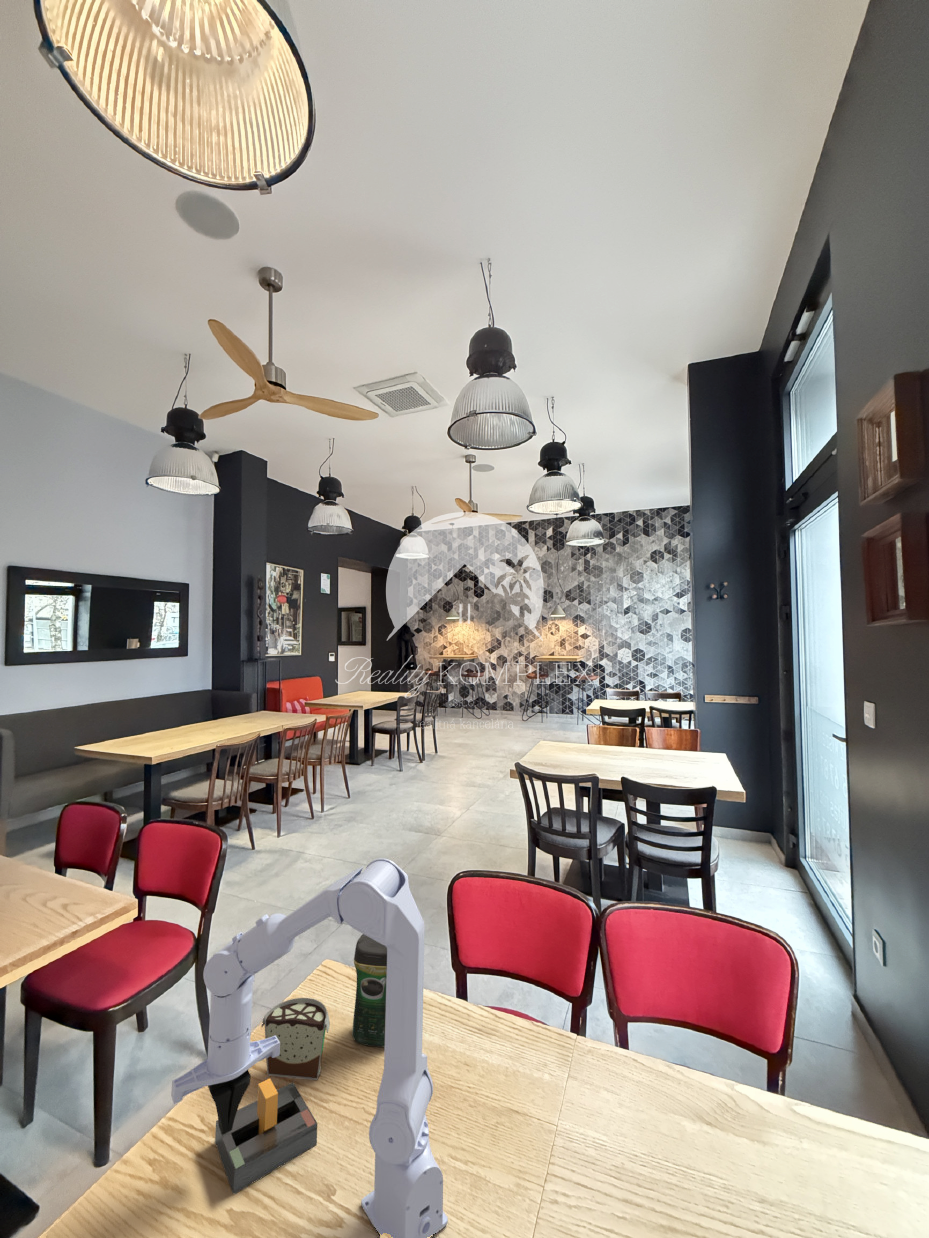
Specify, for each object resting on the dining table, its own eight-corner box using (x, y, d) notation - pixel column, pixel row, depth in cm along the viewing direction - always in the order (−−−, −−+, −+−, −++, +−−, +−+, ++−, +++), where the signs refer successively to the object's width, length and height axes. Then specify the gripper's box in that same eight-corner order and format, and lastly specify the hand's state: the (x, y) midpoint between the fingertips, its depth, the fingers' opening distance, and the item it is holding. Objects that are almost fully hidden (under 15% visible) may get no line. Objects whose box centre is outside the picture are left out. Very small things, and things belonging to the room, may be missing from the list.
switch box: (316, 1144, 79) (317, 1123, 79) (233, 1194, 71) (234, 1170, 71) (292, 1100, 86) (293, 1081, 87) (214, 1142, 79) (216, 1120, 79)
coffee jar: (406, 1023, 105) (408, 928, 107) (394, 1052, 97) (397, 949, 99) (361, 1017, 107) (364, 923, 108) (346, 1045, 99) (349, 943, 101)
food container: (338, 1054, 97) (339, 998, 98) (326, 1080, 91) (328, 1020, 91) (275, 1049, 98) (277, 993, 99) (259, 1074, 92) (261, 1014, 93)
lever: (275, 1144, 78) (278, 1092, 79) (263, 1151, 77) (265, 1099, 77) (267, 1127, 81) (269, 1078, 81) (256, 1133, 80) (258, 1083, 80)
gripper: (270, 995, 84) (266, 1085, 83) (169, 1034, 75) (163, 1135, 74) (286, 1019, 79) (282, 1115, 78) (179, 1064, 70) (173, 1173, 68)
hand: (225, 1127), depth 75 cm, fingers closed
